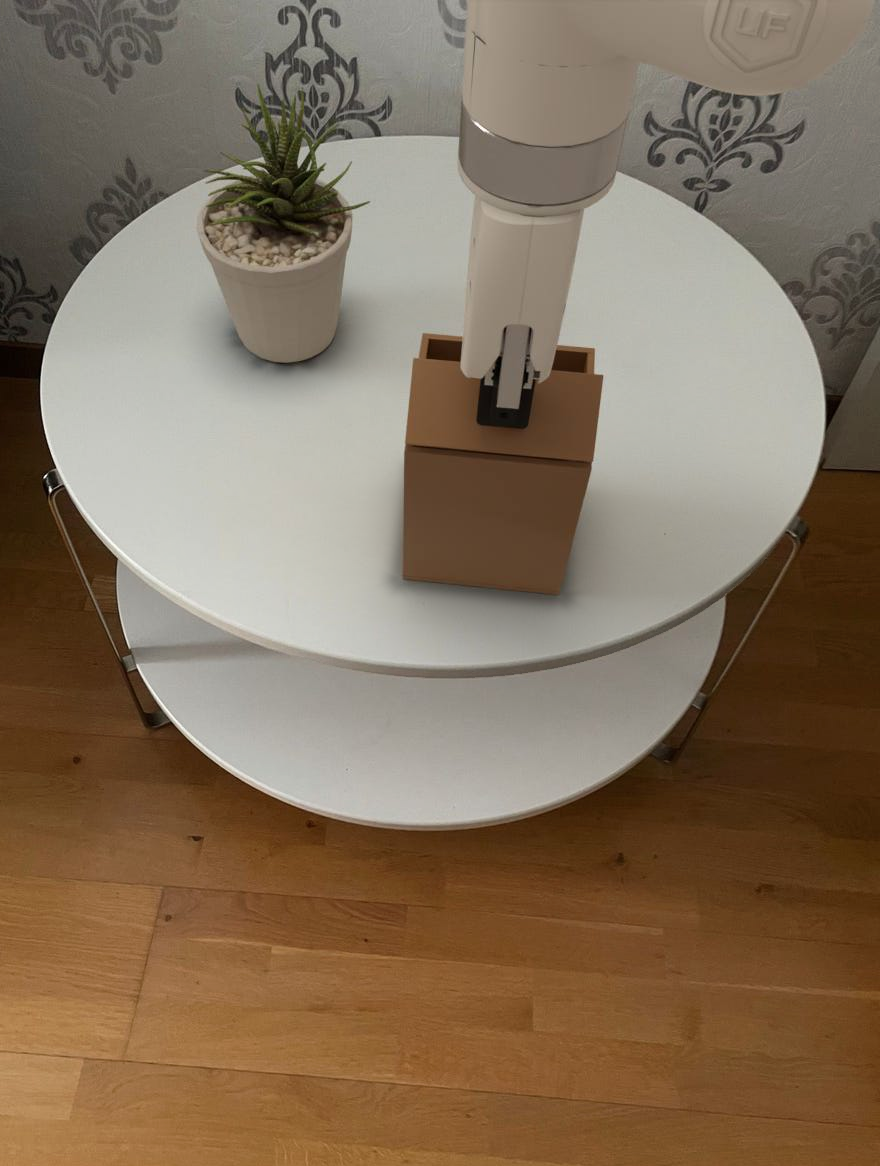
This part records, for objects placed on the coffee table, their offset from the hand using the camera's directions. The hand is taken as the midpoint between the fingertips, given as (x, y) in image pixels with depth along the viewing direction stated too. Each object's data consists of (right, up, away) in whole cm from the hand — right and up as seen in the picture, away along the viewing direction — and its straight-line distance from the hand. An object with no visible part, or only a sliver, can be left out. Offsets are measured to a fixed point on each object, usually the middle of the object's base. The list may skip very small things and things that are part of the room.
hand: (502, 417), depth 61 cm
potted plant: (-16, +14, +28) cm, 36 cm away
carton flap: (0, +1, +1) cm, 1 cm away
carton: (0, -5, +17) cm, 18 cm away
